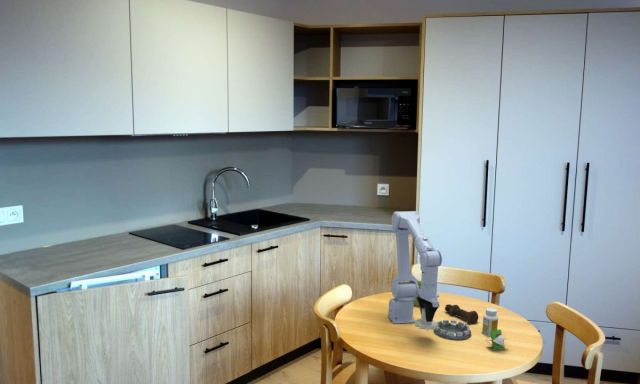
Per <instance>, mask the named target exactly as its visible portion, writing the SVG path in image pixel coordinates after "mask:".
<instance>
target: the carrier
mask: <svg viewBox="0 0 640 384" xmlns="http://www.w3.org/2000/svg"><path fill="white" fill-rule="evenodd" d="M437 322H438V328H435V330H432V331H433V333H434V334H435V335H436V336H437V337H439V338H442V339H446V340H449V341H450V340H451V341H466V340H469V339H470V338H471V337H472V331H471V330H470V328H471V327H469V326H470V325H468V324H465V323H464V322H463V321H458V322H457V320H452V319H451V320H449V319H444V320H439V321H437Z"/></svg>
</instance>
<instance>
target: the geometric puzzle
mask: <svg viewBox="0 0 640 384" xmlns="http://www.w3.org/2000/svg"><path fill="white" fill-rule="evenodd" d="M488 337H490V339H488V338H487V339H485V342H486V343H489V342H491V343H490V346H492V347H491V349H492V350H493V351H495V350H504V349H505V338H504V335H503V331H502V329H497V330H492V331H491V336H490V335H489V336H488Z"/></svg>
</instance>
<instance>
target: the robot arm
mask: <svg viewBox="0 0 640 384" xmlns="http://www.w3.org/2000/svg"><path fill="white" fill-rule="evenodd" d="M420 220H421V219H420V214H419V212H418V211H417V210H413V211H412V210H411V211H410V210H409V211H398V210H397V211H394V212H393V213H392V215H391V230H392V233H395V239H396V240H395V241H396V256H397V257H396V258H397V259H396V260H397V271H398V272H397V273H398V274H396V276H394V278H393V279H392V281H391V289H390V290H391V295H392V297H393V298H390V299H389V300H388V315H387V317H388V319H389V320H390V321H391V322H392V323H393V324H411V323H413V324H414V323H415V320H416V319H415V318H414V305H413V303H414V300H415V297H417V296H418V294H419V295H420V297H417V300H418V303H419V306H418V307H419V311H420V315H421V314H422V308H425V313H426V321H427V322H432V321H433V320H434V317H435V315H436V312H437V311H438V309H439V308H440V301H439V299H438V298H440V294H438V293H437V291H438V277H439V267H440V266H441V265H442V262H443V257H442V254H441V251H440V250H438V249H436V248H434V246H433V244H432V242H431V241H430V239H429V237H428V236H426V235H424V233H423V231H422V228H421V225H420V222H421V221H420ZM409 235H411V236H412V238H413V239H414V243H413V245H414V247H415V250H417V253H418V255H419V264H420V268H419V269H420V271H421V278H420V279H421V280H420V282H421V288H419V287H418V283H417V282H418V278H417V277H415V275H413V274H412V270H411V269H412V268H411V256H410V243H409V240H410V239H409Z"/></svg>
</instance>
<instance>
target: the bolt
mask: <svg viewBox="0 0 640 384" xmlns="http://www.w3.org/2000/svg"><path fill="white" fill-rule="evenodd" d="M444 310H445V312H447V313H449V314H450V316H452V317H459V318H462V319H464V320H466V322H467V325H468V324H469V326H470V325H476V324H477V322H478V320H479V314H478V312H477V311H476V310H471V311H467V310H464V309H463V308H460V306H459V305H457V304H447V303H446V305H445V307H444Z"/></svg>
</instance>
